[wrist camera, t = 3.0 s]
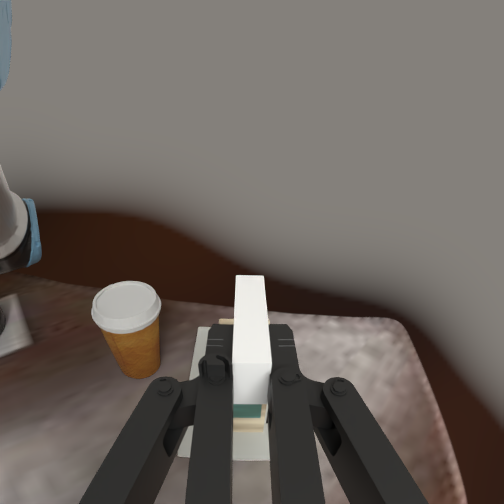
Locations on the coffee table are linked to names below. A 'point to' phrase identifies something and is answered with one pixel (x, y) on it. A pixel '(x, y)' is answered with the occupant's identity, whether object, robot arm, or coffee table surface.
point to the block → (247, 409)
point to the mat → (244, 443)
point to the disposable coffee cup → (130, 326)
